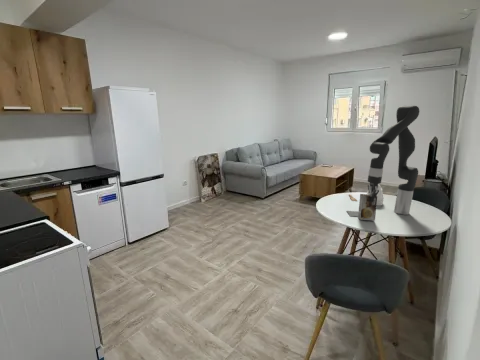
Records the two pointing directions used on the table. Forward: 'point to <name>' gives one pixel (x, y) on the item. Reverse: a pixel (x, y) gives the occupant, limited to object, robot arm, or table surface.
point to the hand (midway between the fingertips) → (371, 201)
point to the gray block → (353, 213)
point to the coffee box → (367, 208)
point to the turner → (352, 198)
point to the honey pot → (379, 195)
